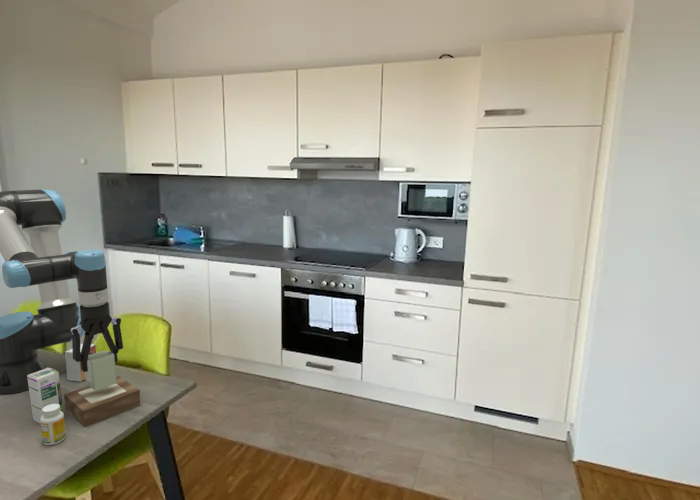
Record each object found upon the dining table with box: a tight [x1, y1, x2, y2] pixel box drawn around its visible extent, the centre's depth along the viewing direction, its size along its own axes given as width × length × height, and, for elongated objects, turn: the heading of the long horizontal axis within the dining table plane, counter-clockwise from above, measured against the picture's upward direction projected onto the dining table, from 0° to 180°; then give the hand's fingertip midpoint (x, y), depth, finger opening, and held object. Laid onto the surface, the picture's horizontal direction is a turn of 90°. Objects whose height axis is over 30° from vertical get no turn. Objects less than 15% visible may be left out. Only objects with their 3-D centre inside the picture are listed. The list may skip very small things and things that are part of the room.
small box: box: [64, 342, 97, 383], centre depth 158 cm, size 8×6×10 cm
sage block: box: [86, 350, 117, 391], centre depth 138 cm, size 6×6×9 cm
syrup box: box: [27, 367, 65, 424], centre depth 132 cm, size 6×6×14 cm
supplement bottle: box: [40, 404, 67, 446], centre depth 123 cm, size 5×5×10 cm
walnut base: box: [64, 375, 141, 428], centre depth 139 cm, size 14×16×5 cm
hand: (101, 376), depth 138 cm, fingers closed on sage block, 6 cm apart
